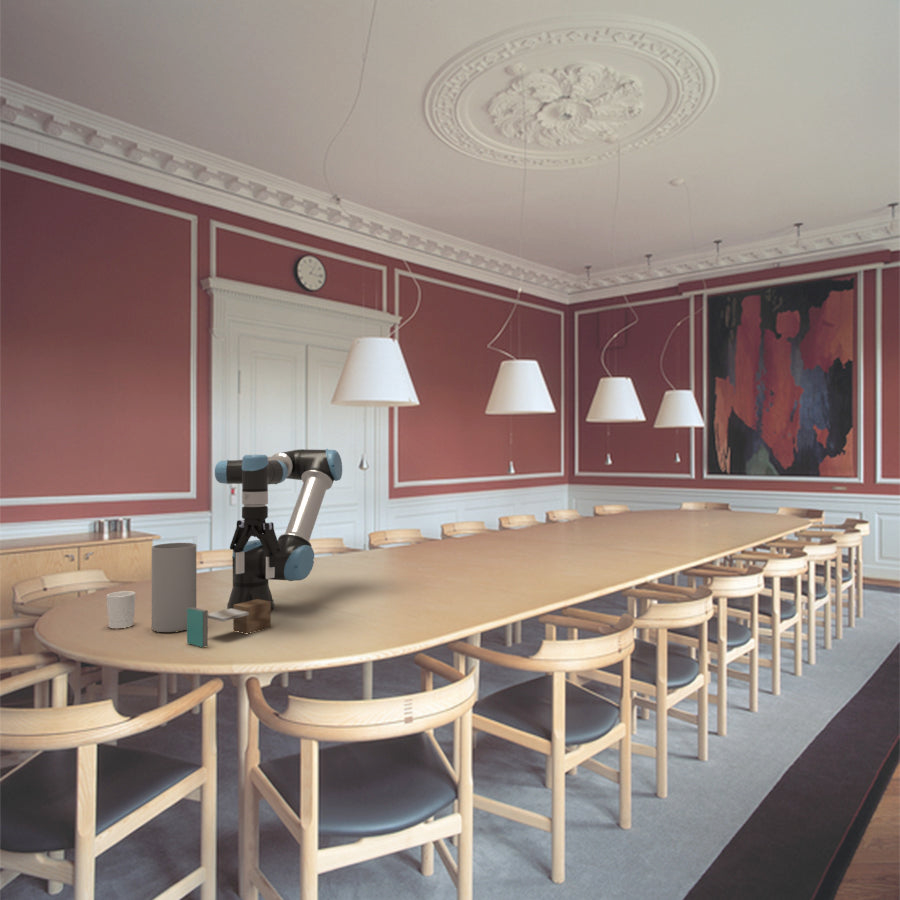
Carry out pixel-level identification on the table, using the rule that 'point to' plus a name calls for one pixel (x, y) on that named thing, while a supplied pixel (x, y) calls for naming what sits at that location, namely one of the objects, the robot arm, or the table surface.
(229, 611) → the wood block with tab
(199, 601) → the table surface
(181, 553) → the cylinder vase
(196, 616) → the tile
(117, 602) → the white cup
